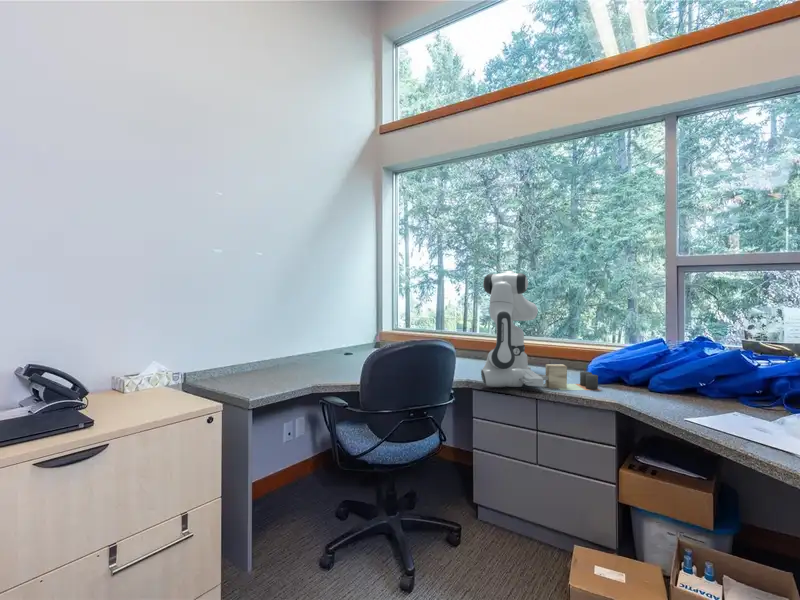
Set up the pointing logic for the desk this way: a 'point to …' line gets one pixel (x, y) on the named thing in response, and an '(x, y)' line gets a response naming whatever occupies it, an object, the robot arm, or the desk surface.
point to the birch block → (556, 376)
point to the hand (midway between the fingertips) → (547, 377)
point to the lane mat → (569, 387)
